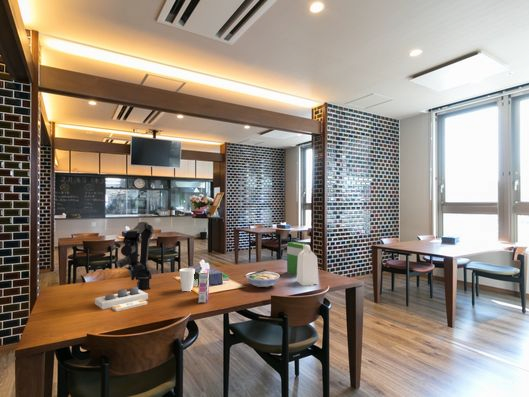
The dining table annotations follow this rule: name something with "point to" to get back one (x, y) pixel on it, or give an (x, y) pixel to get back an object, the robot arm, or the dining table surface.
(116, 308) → the pattern card
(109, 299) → the button
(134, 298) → the button board
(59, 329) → the dining table surface
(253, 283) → the ramen bowl
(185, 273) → the foam cup
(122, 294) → the button middle
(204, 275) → the candy bar box
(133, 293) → the button
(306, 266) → the milk
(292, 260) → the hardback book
